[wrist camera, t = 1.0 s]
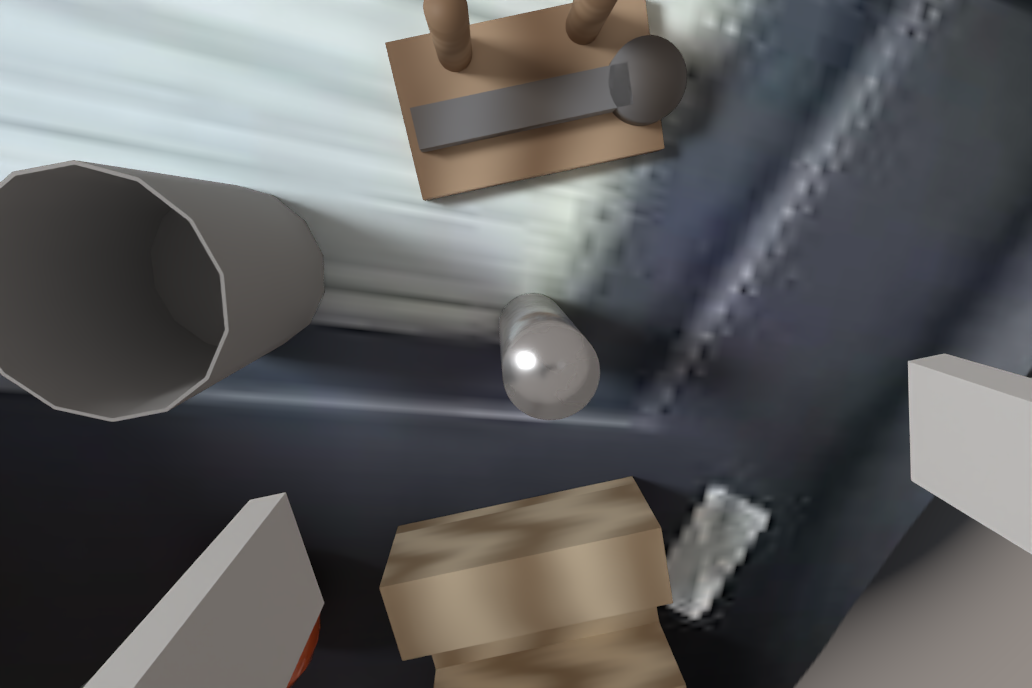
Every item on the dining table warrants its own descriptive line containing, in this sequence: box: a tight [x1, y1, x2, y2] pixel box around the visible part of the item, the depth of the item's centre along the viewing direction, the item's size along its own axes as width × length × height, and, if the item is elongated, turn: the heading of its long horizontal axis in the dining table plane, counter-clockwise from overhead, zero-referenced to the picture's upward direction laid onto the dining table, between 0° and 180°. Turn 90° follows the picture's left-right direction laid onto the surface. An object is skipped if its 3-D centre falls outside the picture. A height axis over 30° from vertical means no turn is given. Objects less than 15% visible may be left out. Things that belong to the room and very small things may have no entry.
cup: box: [0, 160, 325, 422], centre depth 21 cm, size 8×8×10 cm
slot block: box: [379, 476, 686, 688], centre depth 29 cm, size 14×14×5 cm
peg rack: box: [385, 0, 687, 201], centre depth 22 cm, size 13×7×6 cm, turn 102°
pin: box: [499, 293, 600, 420], centre depth 23 cm, size 4×4×9 cm
